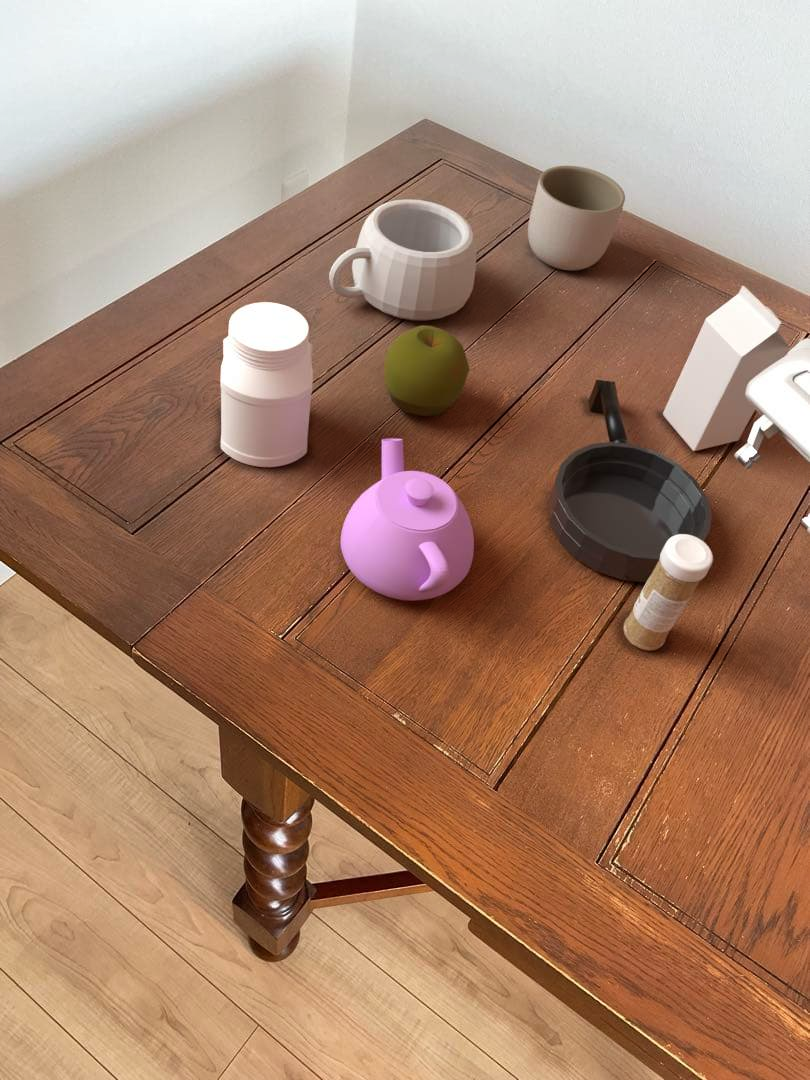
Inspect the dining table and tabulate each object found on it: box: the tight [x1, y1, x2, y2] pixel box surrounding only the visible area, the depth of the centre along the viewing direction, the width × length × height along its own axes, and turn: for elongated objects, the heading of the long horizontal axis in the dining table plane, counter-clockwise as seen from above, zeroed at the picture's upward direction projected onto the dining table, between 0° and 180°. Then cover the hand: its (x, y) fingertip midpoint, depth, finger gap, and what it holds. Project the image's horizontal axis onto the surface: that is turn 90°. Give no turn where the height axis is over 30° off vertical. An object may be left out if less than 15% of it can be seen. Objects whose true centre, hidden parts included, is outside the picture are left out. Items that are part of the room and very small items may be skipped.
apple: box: [383, 325, 470, 417], centre depth 114 cm, size 10×10×11 cm
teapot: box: [340, 438, 475, 602], centre depth 98 cm, size 14×20×11 cm
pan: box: [546, 441, 713, 583], centre depth 108 cm, size 17×17×4 cm
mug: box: [328, 198, 477, 322], centre depth 129 cm, size 21×17×10 cm
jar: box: [219, 301, 314, 468], centre depth 105 cm, size 12×10×15 cm
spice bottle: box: [623, 534, 714, 652], centre depth 95 cm, size 5×5×13 cm
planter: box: [527, 165, 626, 271], centre depth 141 cm, size 12×12×11 cm
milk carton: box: [662, 285, 790, 452], centre depth 116 cm, size 7×7×19 cm
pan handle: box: [588, 379, 629, 444], centre depth 117 cm, size 2×13×5 cm, turn 0°
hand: (772, 495), depth 92 cm, fingers open, 8 cm apart
